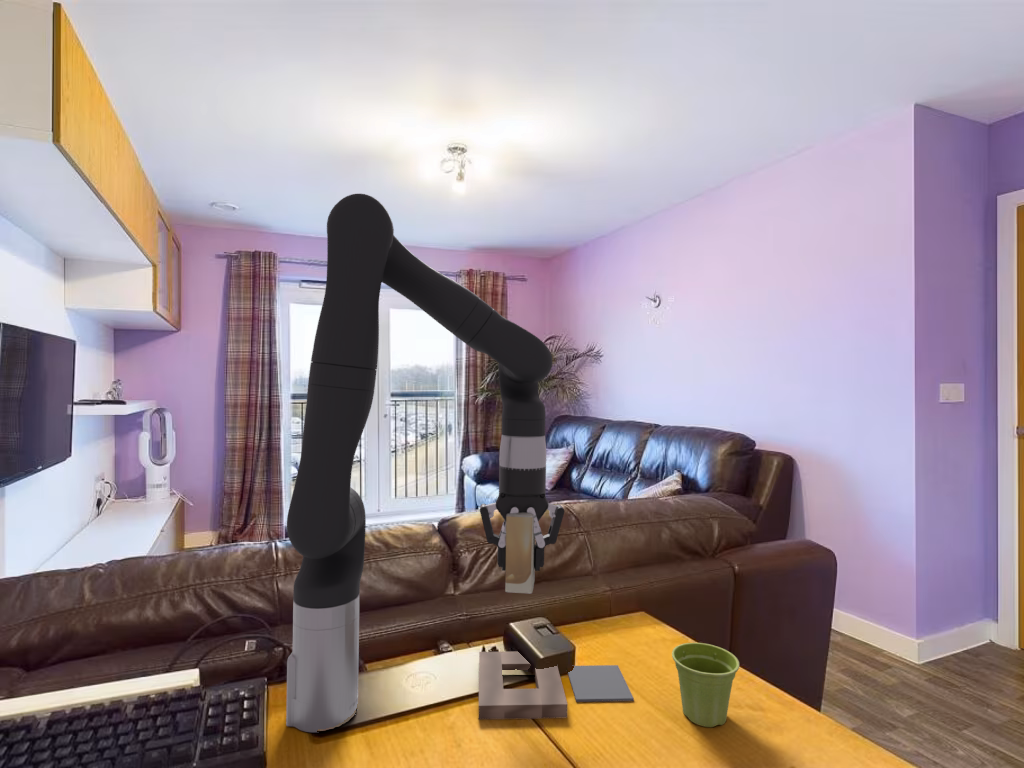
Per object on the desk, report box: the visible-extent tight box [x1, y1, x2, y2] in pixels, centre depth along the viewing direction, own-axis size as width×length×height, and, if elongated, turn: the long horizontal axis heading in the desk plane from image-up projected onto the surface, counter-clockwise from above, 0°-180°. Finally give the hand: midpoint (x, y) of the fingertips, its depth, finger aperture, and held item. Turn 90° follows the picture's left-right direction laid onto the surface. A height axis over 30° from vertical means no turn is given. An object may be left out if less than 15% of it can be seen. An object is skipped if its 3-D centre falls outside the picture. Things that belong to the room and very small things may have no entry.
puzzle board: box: [478, 650, 568, 720], centre depth 87 cm, size 13×16×2 cm
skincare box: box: [504, 513, 536, 594], centre depth 87 cm, size 6×4×12 cm
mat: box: [567, 664, 635, 703], centre depth 89 cm, size 9×10×1 cm
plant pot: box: [671, 642, 740, 728], centre depth 81 cm, size 9×9×9 cm
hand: (520, 568), depth 87 cm, fingers closed on skincare box, 4 cm apart
